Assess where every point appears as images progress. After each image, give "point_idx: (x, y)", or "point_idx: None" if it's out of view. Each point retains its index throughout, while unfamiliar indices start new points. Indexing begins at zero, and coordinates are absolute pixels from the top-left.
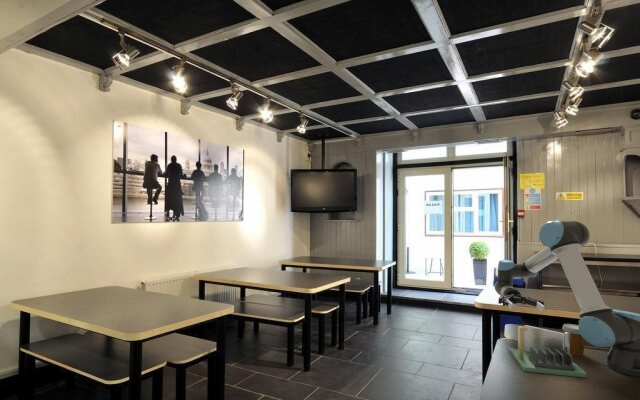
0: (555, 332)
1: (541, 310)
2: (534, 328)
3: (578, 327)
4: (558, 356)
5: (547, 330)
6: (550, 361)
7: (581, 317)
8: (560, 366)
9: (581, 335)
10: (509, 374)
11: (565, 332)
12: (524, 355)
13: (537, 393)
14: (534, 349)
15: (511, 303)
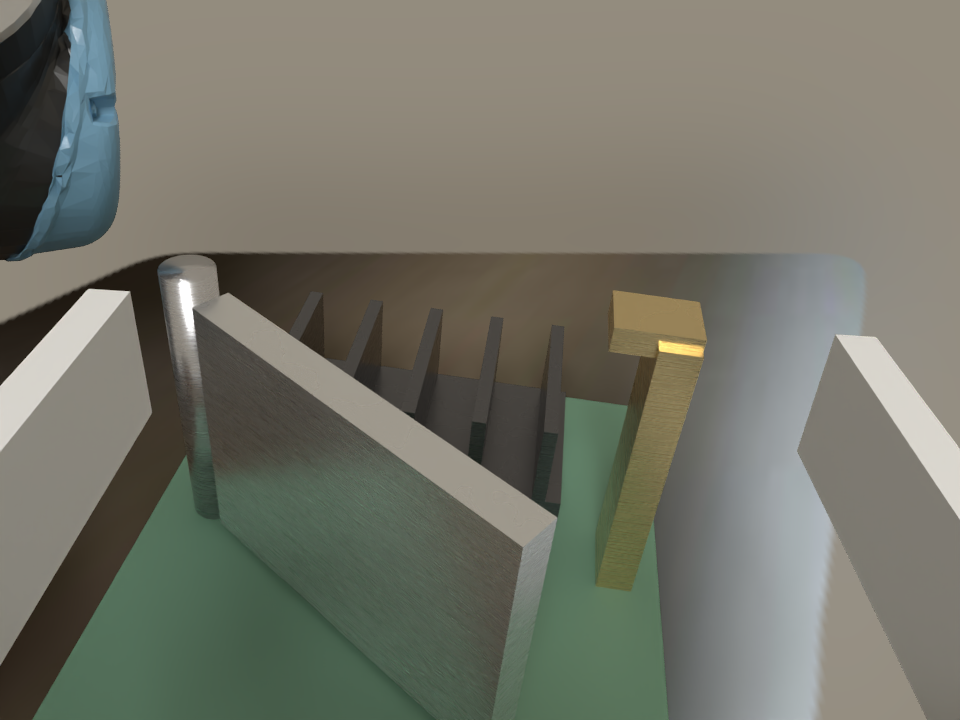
0: (275, 326)
1: (126, 434)
2: (445, 448)
3: (118, 145)
4: (366, 371)
5: (327, 369)
6: (428, 411)
7: (45, 34)
8: (391, 373)
9: (112, 212)
10: (742, 389)
11: (199, 272)
12: (558, 612)
13: (642, 258)
14: (550, 379)
15: (868, 345)
